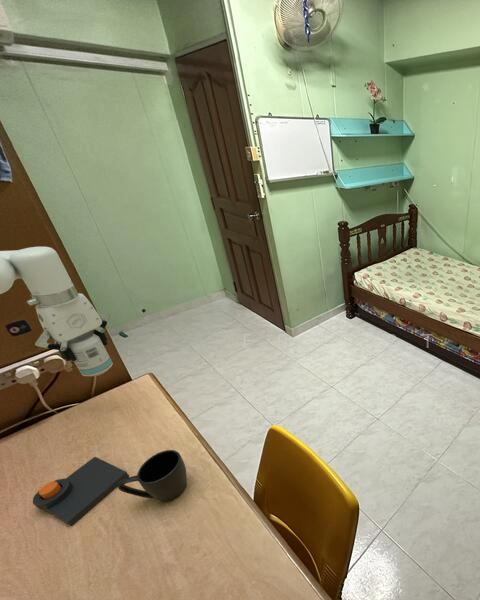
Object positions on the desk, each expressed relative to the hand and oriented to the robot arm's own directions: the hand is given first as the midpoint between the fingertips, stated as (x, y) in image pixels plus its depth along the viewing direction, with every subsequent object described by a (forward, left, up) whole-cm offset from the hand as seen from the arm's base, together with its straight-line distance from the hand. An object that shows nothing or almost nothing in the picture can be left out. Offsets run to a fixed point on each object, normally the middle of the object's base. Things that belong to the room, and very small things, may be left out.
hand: (87, 351), depth 88 cm
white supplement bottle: (0, 0, -7) cm, 7 cm away
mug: (+39, -15, -22) cm, 47 cm away
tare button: (+17, -24, -18) cm, 35 cm away
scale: (+21, -21, -21) cm, 36 cm away
